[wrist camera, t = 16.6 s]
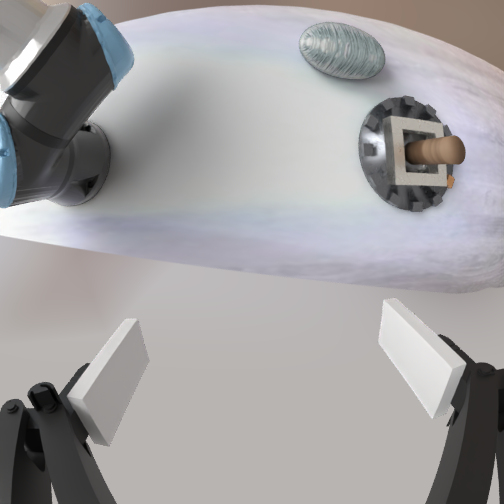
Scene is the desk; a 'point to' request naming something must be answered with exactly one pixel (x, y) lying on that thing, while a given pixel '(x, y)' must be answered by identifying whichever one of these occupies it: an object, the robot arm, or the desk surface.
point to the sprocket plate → (378, 154)
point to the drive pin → (435, 151)
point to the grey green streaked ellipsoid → (342, 51)
